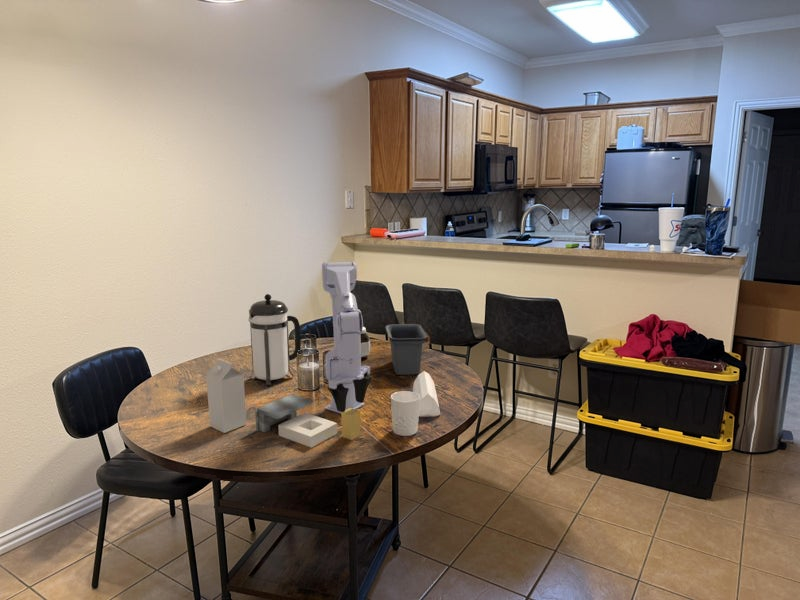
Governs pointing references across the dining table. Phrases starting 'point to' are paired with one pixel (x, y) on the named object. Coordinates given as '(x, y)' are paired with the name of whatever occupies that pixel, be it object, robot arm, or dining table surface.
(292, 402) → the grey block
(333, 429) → the socket
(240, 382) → the milk carton
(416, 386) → the white pentagonal prism
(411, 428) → the white cup
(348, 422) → the peg
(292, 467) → the dining table surface
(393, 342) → the storage bin
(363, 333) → the spread jar
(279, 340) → the coffee press
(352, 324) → the robot arm
